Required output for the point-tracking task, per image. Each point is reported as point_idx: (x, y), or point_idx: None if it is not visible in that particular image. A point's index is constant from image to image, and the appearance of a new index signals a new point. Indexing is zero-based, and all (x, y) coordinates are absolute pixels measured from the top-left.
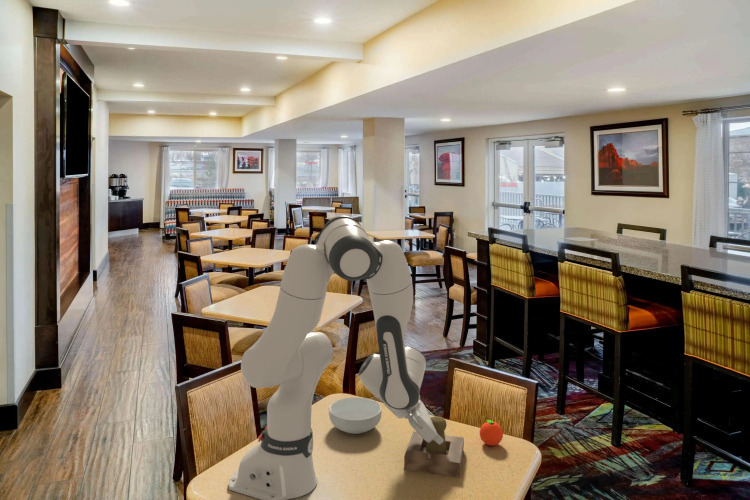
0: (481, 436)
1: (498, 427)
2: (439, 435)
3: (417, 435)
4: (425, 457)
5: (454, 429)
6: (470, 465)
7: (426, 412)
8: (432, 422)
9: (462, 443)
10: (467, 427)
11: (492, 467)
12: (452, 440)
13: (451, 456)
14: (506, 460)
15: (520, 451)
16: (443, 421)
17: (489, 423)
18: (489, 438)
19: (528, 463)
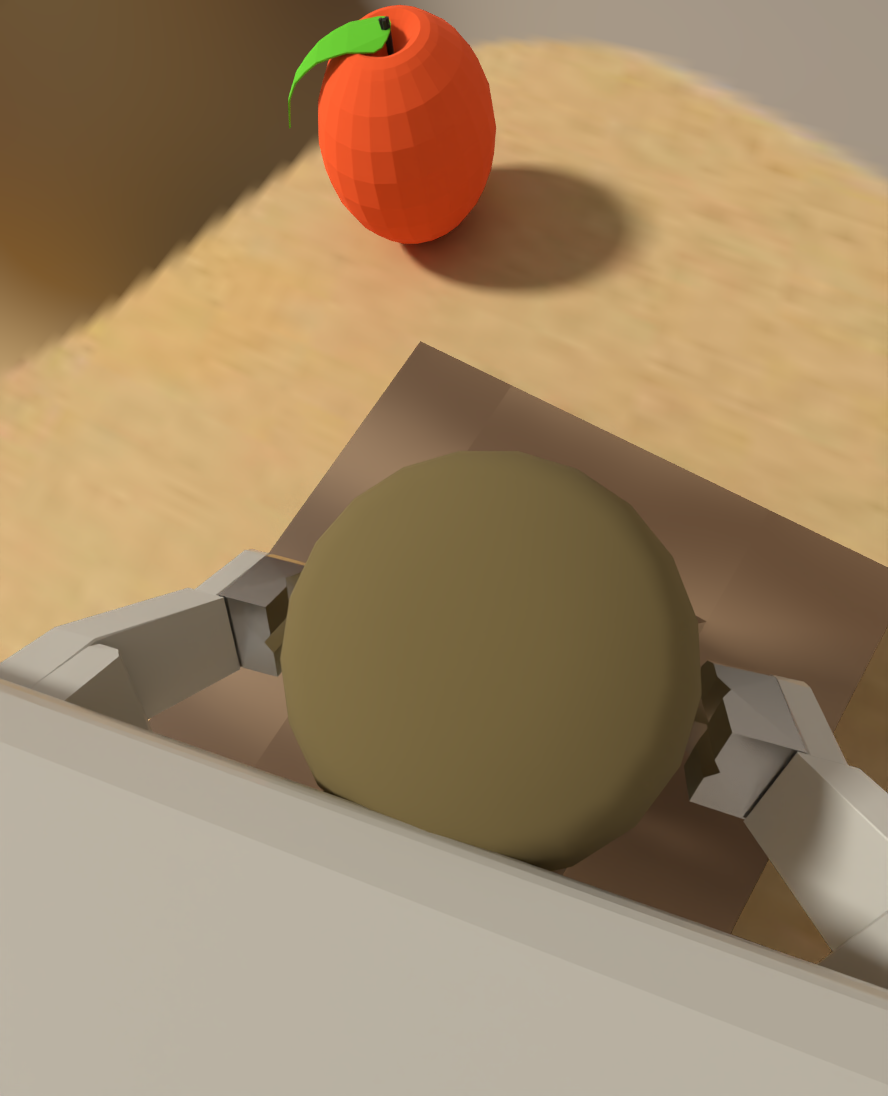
0: (410, 217)
1: (447, 24)
2: (799, 750)
3: (224, 739)
4: (712, 911)
5: (170, 350)
6: (653, 444)
7: (115, 886)
8: (581, 850)
9: (516, 392)
10: (184, 269)
11: (716, 317)
12: (436, 453)
13: (747, 600)
14: (646, 205)
15: (562, 100)
16: (629, 536)
17: (375, 55)
18: (474, 174)
19: (715, 106)
